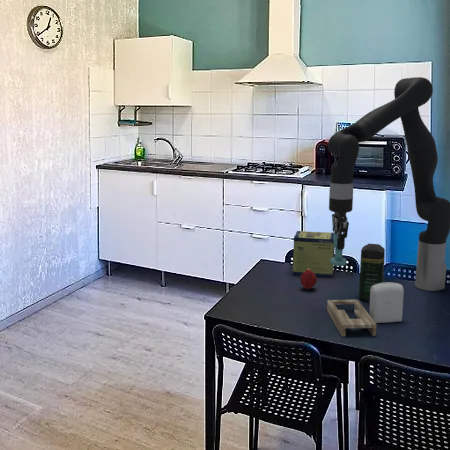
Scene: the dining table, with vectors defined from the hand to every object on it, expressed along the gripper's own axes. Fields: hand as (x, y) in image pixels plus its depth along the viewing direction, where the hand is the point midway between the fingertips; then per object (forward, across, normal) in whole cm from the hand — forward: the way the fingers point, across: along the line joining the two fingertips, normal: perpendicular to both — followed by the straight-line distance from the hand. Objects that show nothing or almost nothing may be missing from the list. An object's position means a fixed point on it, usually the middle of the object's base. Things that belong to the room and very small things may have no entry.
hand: (339, 247), depth 182 cm
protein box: (+19, +32, +2) cm, 37 cm away
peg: (+6, 0, 0) cm, 6 cm away
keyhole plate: (+19, -17, 0) cm, 26 cm away
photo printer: (+19, -17, -11) cm, 28 cm away
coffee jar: (+19, +4, -12) cm, 23 cm away
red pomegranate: (+19, +13, +8) cm, 24 cm away
